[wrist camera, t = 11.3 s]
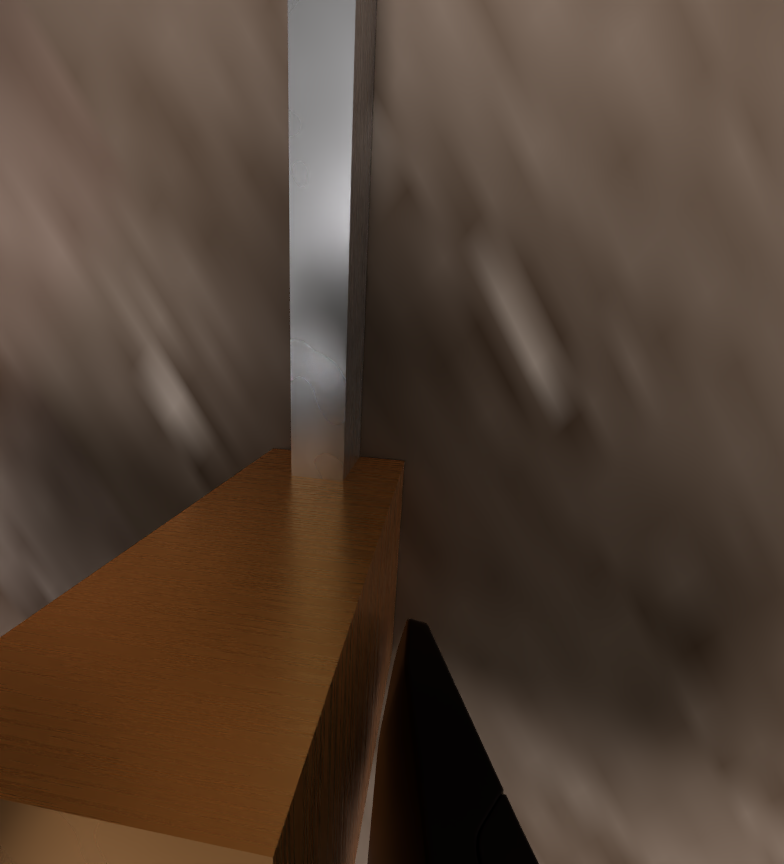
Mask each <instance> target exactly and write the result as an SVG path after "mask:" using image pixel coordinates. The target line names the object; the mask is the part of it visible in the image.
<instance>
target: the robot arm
mask: <svg viewBox="0 0 784 864" xmlns="http://www.w3.org/2000/svg"><path fill="white" fill-rule="evenodd" d="M367 864H539V863H538V861H537V859H536V857H535V855H534V853H533V851H532V849H531V847H530V845H529V843H528V840H527V838H526V836H525V834H524V832H523V830H522V828H521V826H520V824H519V822H518V820H517V818H516V815H515V813H514V811H513V809H512V807H511V805H510V802H509V800H508V798H507V796H506V795H505V794H503V787H502V785H501V783H500V781H499V779H498V777H497V774H496V772H495V770H494V768H493V766H492V764H491V761H490V759H489V757H488V755H487V753H486V750H485V748H484V746H483V744H482V742H481V740H480V737H479V735H478V733H477V731H476V729H475V726H474V724H473V722H472V720H471V718H470V716H469V713H468V711H467V709H466V707H465V705H464V702H463V700H462V698H461V696H460V694H459V692H458V689H457V687H456V685H455V683H454V681H453V678H452V676H451V674H450V672H449V670H448V668H447V665H446V663H445V661H444V659H443V657H442V654H441V652H440V650H439V648H438V646H437V644H436V641H435V639H434V637H433V635H432V633H431V630H430V628H429V626H428V625H427V624H426V623H424V622H421V621H417V620H414V619H408V620H407V622H406V624H405V627H404V630H403V633H402V637H401V640H400V643H399V646H398V649H397V653H396V657H395V661H394V666H393V671H392V676H391V681H390V686H389V691H388V696H387V701H386V706H385V711H384V716H383V721H382V726H381V731H380V737H379V744H378V753H377V763H376V774H375V785H374V796H373V807H372V818H371V830H370V841H369V852H368V863H367Z"/></svg>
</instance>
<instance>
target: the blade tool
mask: <svg viewBox="0 0 784 864" xmlns="http://www.w3.org/2000/svg"><path fill="white" fill-rule="evenodd" d="M376 4H377V0H288V92H289V221H290V351H291V450H285V449H274V448H273V449H272V450H270V451H269V452H268V453H266V454H265V455H263V456H262V457H260V458H259V459H257V460H256V461H255V462H253V463H252V464H250V465H249V466H247V467H246V468H244V469H243V470H242V471H240V472H239V473H237V474H236V475H234V476H233V477H231V478H230V479H229V480H227V481H226V482H224V483H223V484H221V485H220V486H218V487H217V488H216V489H214V490H213V491H211V492H210V493H208V494H207V495H205V496H204V497H203V498H201V499H200V500H198V501H197V502H195V503H194V504H192V505H191V506H190V507H188V508H187V509H185V510H184V511H182V512H181V513H179V514H178V515H177V516H175V517H174V518H172V519H171V520H169V521H168V522H166V523H165V524H164V525H162V526H161V527H159V528H158V529H156V530H155V531H153V532H152V533H151V534H149V535H148V536H146V537H145V538H143V539H142V540H140V541H139V542H138V543H136V544H135V545H133V546H132V547H130V548H129V549H127V550H126V551H124V552H123V553H122V554H120V555H119V556H117V557H116V558H114V559H113V560H111V561H110V562H109V563H107V564H106V565H104V566H103V567H101V568H100V569H98V570H97V571H96V572H94V573H93V574H91V575H90V576H88V577H87V578H85V579H84V580H83V581H81V582H80V583H78V584H77V585H75V586H74V587H72V588H71V589H70V590H68V591H67V592H65V593H64V594H62V595H61V596H59V597H58V598H57V599H55V600H54V601H52V602H51V603H49V604H48V605H46V606H45V607H44V608H42V609H41V610H39V611H38V612H36V613H35V614H33V615H32V616H31V617H29V618H28V619H26V620H25V621H23V622H22V623H20V624H19V625H18V626H16V627H15V628H13V629H12V630H10V631H9V632H7V633H6V634H5V635H3V636H2V637H0V864H355V858H356V852H357V847H358V841H359V835H360V830H361V824H362V818H363V813H364V807H365V801H366V796H367V790H368V784H369V779H370V773H371V767H372V762H373V756H374V750H375V745H376V739H377V733H378V728H379V722H380V716H381V711H382V705H383V699H384V694H385V688H386V682H387V677H388V671H389V665H390V660H391V654H392V644H393V629H394V614H395V599H396V584H397V569H398V554H399V539H400V524H401V508H402V493H403V478H404V463H405V461H400V460H389V459H379V458H368V457H360V438H361V411H362V384H363V357H364V329H365V302H366V275H367V248H368V221H369V194H370V167H371V140H372V113H373V85H374V58H375V31H376Z"/></svg>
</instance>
